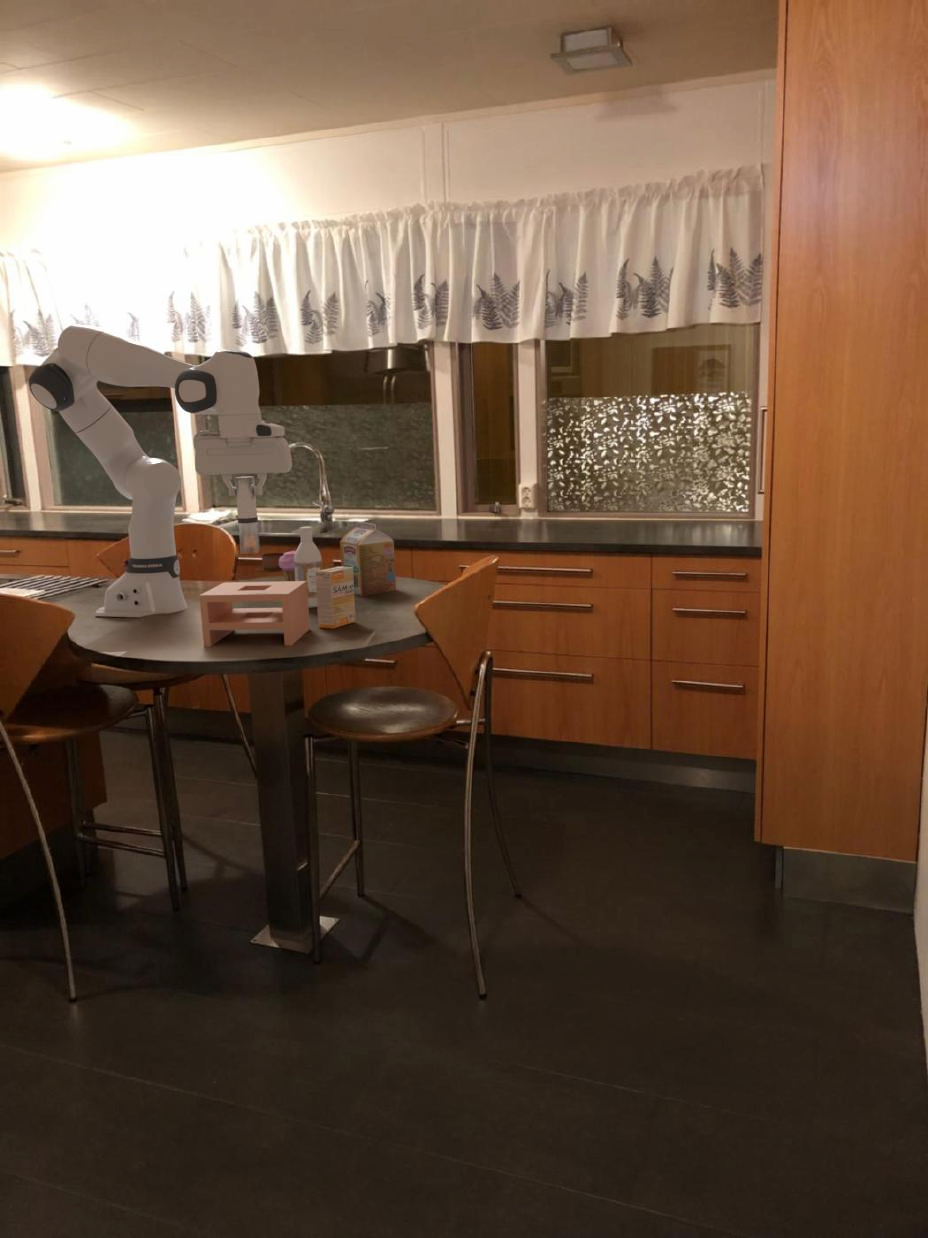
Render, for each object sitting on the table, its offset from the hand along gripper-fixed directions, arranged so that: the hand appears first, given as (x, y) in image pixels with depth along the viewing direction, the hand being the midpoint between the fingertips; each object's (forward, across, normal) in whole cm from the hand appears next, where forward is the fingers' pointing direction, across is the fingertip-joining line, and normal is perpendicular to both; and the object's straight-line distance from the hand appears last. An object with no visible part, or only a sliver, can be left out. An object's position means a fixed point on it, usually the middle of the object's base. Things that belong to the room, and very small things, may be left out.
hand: (246, 495), depth 209 cm
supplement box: (+31, +15, +12) cm, 37 cm away
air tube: (+12, 0, 0) cm, 12 cm away
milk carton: (+31, +15, +53) cm, 64 cm away
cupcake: (+31, -9, +68) cm, 76 cm away
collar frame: (+31, 0, 0) cm, 31 cm away
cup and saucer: (+32, -22, +90) cm, 97 cm away
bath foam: (+31, +3, +36) cm, 48 cm away
